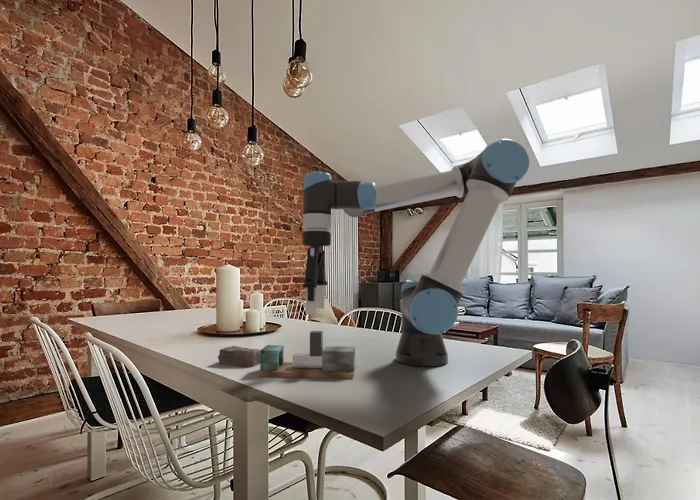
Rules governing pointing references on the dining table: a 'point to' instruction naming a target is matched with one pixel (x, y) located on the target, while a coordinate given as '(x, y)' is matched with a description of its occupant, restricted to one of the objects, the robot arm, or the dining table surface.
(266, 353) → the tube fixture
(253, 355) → the stone
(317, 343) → the grey bar with post
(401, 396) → the dining table surface
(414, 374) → the dining table surface
